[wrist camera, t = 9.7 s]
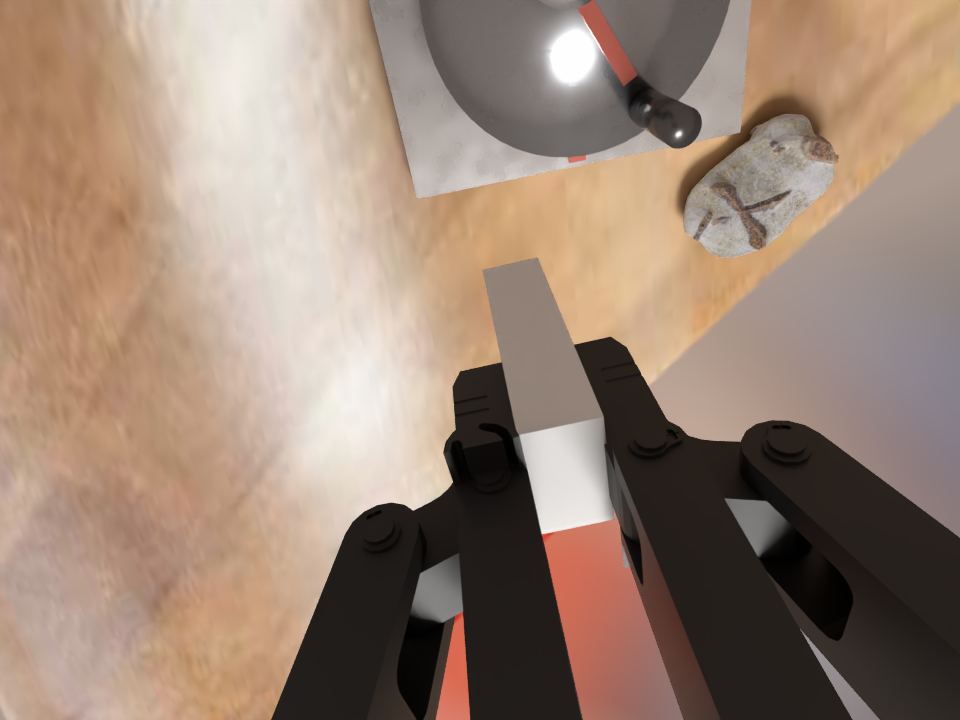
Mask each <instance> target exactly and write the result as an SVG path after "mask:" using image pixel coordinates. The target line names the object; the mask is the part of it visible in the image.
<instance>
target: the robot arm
mask: <svg viewBox="0 0 960 720" xmlns="http://www.w3.org/2000/svg"><path fill="white" fill-rule="evenodd" d="M483 274H484V279H485V284H486V289H487V293H488V298H489V303H490V308H491V312H492V317H493V322H494V327H495V332H496V336H497V341H498V346H499V351H500V356H501V360H502V362H501V363H496V364H492V365H487V366H483V367H478V368H474V369H469V370H465V371H460V373H459V375H458V377H457V379H456V381H455V383H454V385H453V399H454V412H455V425H456V430H455V431H454V432H453V433H452V434H451V436H450V437H449V438H448V440H447V441H446V443H445V447H444V452H443V453H444V456H445V459H446V462H447V465H448V468H449V471H450V474H451V477H452V480H453V483H452V485H451V486H450V487H449V489H448V490H447V491H445V492H444V493H443V494H442V495H441V496H440V497H438V498H437V499H435V500H433V501H432V502H430V503H428V504H426V505H424V506H422V507H420V508H418V509H416V510H414V511H413V510H411V509H410V508H408V507H407V506H405V505H403V504H396V503H387V504H382V505H377V506H375V507H373V508H371V509H369V510H367V511H365V512H363V513H362V514H361V515H360V516H359V517H358V518H357V519H356V520H354V521H353V522H352V524H351V526H350V527H349V529H348V531H347V532H346V534H345V536H344V539H343V541H342V544H341V546H340V549H339V551H338V554H337V556H336V559H335V561H334V564H333V566H332V569H331V571H330V574H329V576H328V579H327V581H326V584H325V586H324V589H323V591H322V594H321V596H320V599H319V601H318V604H317V606H316V609H315V611H314V614H313V616H312V619H311V621H310V624H309V626H308V629H307V631H306V634H305V636H304V639H303V641H302V644H301V646H300V649H299V651H298V654H297V656H296V659H295V661H294V664H293V666H292V669H291V671H290V674H289V676H288V679H287V681H286V684H285V686H284V689H283V691H282V694H281V696H280V699H279V701H278V704H277V706H276V709H275V712H274V714H273V717H272V719H271V720H436V714H437V710H438V704H439V699H440V694H441V688H442V683H443V678H444V673H445V667H446V662H447V657H448V651H449V646H450V641H451V635H452V630H453V625H454V619H455V615H457V614H459V613H461V612H463V618H464V633H465V647H466V662H467V676H468V692H469V706H470V720H583V719H582V714H581V709H580V705H579V701H578V696H577V691H576V687H575V683H574V678H573V673H572V669H571V664H570V659H569V656H568V650H567V646H566V641H565V637H564V632H563V628H562V623H561V619H560V614H559V609H558V606H557V600H556V596H555V591H554V587H553V582H552V578H551V573H550V569H549V564H548V559H547V555H546V551H545V546H544V542H543V537H542V534H545V533H550V532H555V531H560V530H565V529H570V528H574V527H579V526H584V525H589V524H594V523H599V522H604V521H609V520H613V519H614V511H613V507H614V510H615V513H616V516H617V518H618V521H619V524H620V530H621V541H622V551H623V561H624V567H631V571H632V574H633V576H634V579H635V582H636V585H637V588H638V591H639V594H640V596H641V599H642V602H643V605H644V607H645V611H646V614H647V616H648V619H649V622H650V625H651V628H652V631H653V633H654V636H655V639H656V642H657V645H658V648H659V650H660V653H661V656H662V659H663V662H664V665H665V668H666V670H667V673H668V676H669V679H670V682H671V685H672V687H673V690H674V693H675V696H676V699H677V702H678V705H679V707H680V710H681V713H682V716H683V719H684V720H852V718H851V716H850V715H849V713H848V711H847V709H846V708H845V706H844V704H843V703H842V701H841V699H840V697H839V696H838V694H837V692H836V690H835V689H834V687H833V685H832V683H831V682H830V680H829V678H828V677H827V675H826V673H825V671H824V670H823V668H822V666H821V664H820V663H819V661H818V659H817V658H816V656H815V654H814V652H813V651H812V649H811V647H810V645H809V644H808V642H807V640H806V639H805V637H804V635H803V633H802V632H801V630H802V631H803V632H804V634H805V635H806V636H807V637H808V638H809V639H810V640H811V641H812V643H813V644H814V645H815V646H816V647H817V648H818V650H819V651H820V652H821V653H822V654H823V655H824V656H825V658H826V659H827V660H828V661H829V662H830V663H831V664H832V665H833V667H834V668H835V669H836V670H837V671H838V672H839V674H841V676H842V677H843V678H844V679H845V680H846V681H847V683H848V684H849V685H850V686H851V687H852V688H853V689H854V691H855V692H856V693H857V694H858V695H859V696H860V697H861V698H862V700H863V701H864V702H865V703H866V704H867V705H868V707H869V708H870V709H871V710H872V711H873V712H874V713H875V714H876V716H877V717H878V718H879V719H880V720H960V538H959V537H958V536H957V535H955V534H954V533H953V532H951V531H950V530H949V529H947V528H946V527H944V526H943V525H942V524H941V523H939V522H938V521H937V520H935V519H934V518H933V517H931V516H930V515H928V514H927V513H926V512H925V511H923V510H922V509H921V508H919V507H917V505H915V504H914V503H913V502H911V501H910V500H909V499H907V498H906V497H905V496H903V495H902V494H900V493H899V492H898V491H896V490H895V489H894V488H892V487H891V486H890V485H888V484H887V483H886V482H884V481H883V480H882V479H880V478H879V477H878V476H876V475H875V474H874V473H872V472H871V471H869V470H868V469H867V468H865V467H864V466H863V465H862V464H860V463H859V462H858V461H856V460H855V459H854V458H852V457H851V456H850V455H848V454H847V453H845V452H844V451H843V450H841V449H840V448H839V447H838V446H836V445H835V444H833V443H832V442H831V441H829V440H828V439H827V438H825V437H824V436H823V435H821V434H820V433H818V432H816V431H815V430H813V429H811V428H809V427H807V426H806V425H802V424H798V423H794V422H790V421H774V420H772V421H767V422H763V423H759V424H756V425H754V426H753V427H751V428H750V429H748V430H747V431H746V432H745V434H744V436H743V438H742V440H741V442H729V441H710V440H701V439H698V438H694V437H690V436H688V435H687V434H686V433H685V432H684V431H683V430H682V429H681V428H680V427H679V426H677V425H675V424H673V423H671V422H669V421H668V420H667V419H666V417H665V415H664V414H663V412H662V410H661V408H660V407H659V405H658V403H657V401H656V399H655V397H654V396H653V394H652V392H651V390H650V388H649V387H648V385H647V383H646V381H645V379H644V378H643V376H641V372H640V371H639V369H638V367H637V365H636V364H635V362H634V360H633V358H632V356H631V354H630V353H629V351H628V349H627V347H625V346H624V345H622V344H621V343H619V342H618V341H616V340H615V339H613V338H612V337H607V338H603V339H598V340H594V341H589V342H585V343H580V344H576V345H574V344H573V342H572V339H571V337H570V334H569V332H568V330H567V327H566V325H565V322H564V320H563V318H562V315H561V313H560V310H559V308H558V306H557V303H556V301H555V298H554V296H553V294H552V291H551V289H550V286H549V284H548V282H547V279H546V277H545V274H544V272H543V270H542V267H541V265H540V262H539V260H538V258H533V259H529V260H524V261H520V262H516V263H511V264H507V265H502V266H498V267H494V268H489V269H485V270H483ZM800 629H801V630H800Z"/></svg>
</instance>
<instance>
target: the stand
mask: <svg viewBox="0 0 960 720" xmlns="http://www.w3.org/2000/svg"><path fill="white" fill-rule="evenodd" d="M369 4H370V8H371V12H372V16H373V20H374V24H375V28H376V33H377V37H378V41H379V45H380V49H381V53H382V57H383V61H384V65H385V69H386V73H387V77H388V81H389V85H390V89H391V94H392V98H393V102H394V106H395V110H396V114H397V118H398V122H399V126H400V130H401V134H402V138H403V142H404V146H405V150H406V155H407V159H408V163H409V167H410V171H411V175H412V179H413V183H414V187H415V191H416V195H417V199H419V198H424V197H429V196H434V195H439V194H444V193H448V192H453V191H458V190H463V189H468V188H473V187H478V186H483V185H487V184H492V183H497V182H502V181H507V180H512V179H517V178H522V177H526V176H531V175H536V174H541V173H546V172H551V171H556V170H561V169H565V168H570V167H575V166H580V165H585V164H590V163H595V162H600V161H605V160H609V159H614V158H619V157H624V156H629V155H634V154H639V153H644V152H648V151H653V150H658V149H663V148H668V147H670V146H668V145H667V144H665V143H664V142H662V141H661V140H659V139H658V138H656V137H655V136H653V135H652V134H650V133H649V132H647V131H646V130H644V131H643V132H642V133H640V134H639V135H637V136H635V137H633V138H631V139H630V140H628V141H626V142H624V143H622V144H620V145H617V146H615V147H612V148H610V149H607V150H605V151H601V152H597V153H593V154H589V155H584V156H576V157H548V156H541V155H535V154H531V153H528V152H525V151H521V150H518V149H515V148H513V147H511V146H509V145H507V144H505V143H503V142H501V141H499V140H497V139H496V138H494V137H493V136H491V135H490V134H488V133H487V132H485V131H484V130H483V129H482V128H481V127H479V126H478V125H477V124H476V123H475V122H474V121H472V120H471V119H470V118H469V117H468V115H467V114H466V113H465V112H464V111H463V110H462V109H461V108H460V106H459V105H458V104H457V103H456V101H455V100H454V98H453V97H452V95H451V94H450V92H449V91H448V89H447V88H446V86H445V84H444V82H443V81H442V79H441V77H440V75H439V73H438V71H437V69H436V67H435V64H434V61H433V59H432V56H431V53H430V51H429V48H428V45H427V41H426V36H425V32H424V28H423V24H422V18H421V10H420V2H419V0H369ZM750 11H751V0H730V4H729V8H728V12H727V15H726V17H725V20H724V23H723V26H722V29H721V32H720V35H719V37H718V39H717V41H716V43H715V45H714V48H713V50H712V52H711V54H710V56H709V58H708V60H707V61H706V63H705V65H704V66H703V68H702V70H701V71H700V73H699V75H698V76H697V78H696V79H695V80H694V82H693V83H692V84H691V86H690V87H689V88H688V90H687V91H686V93H685V94H684V95H683V96H682V97H681V98H680V99H679V100H678V101H680V102H682V103H684V104H686V105H689V106H691V107H693V108H695V109H696V110H697V111H698V112H699V113H700V115H701V119H702V127H701V131H700V133H699V135H698V137H697V138H696V139H695V140H694V142H697V141H702V140H707V139H712V138H717V137H722V136H726V135H731V134H736V133H740V129H741V117H742V105H743V93H744V82H745V70H746V58H747V46H748V34H749V23H750Z"/></svg>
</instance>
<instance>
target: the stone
mask: <svg viewBox="0 0 960 720" xmlns="http://www.w3.org/2000/svg"><path fill="white" fill-rule="evenodd" d="M750 134H751V136H752V137H751V138H750V140H749V141H747V142H746V143H744V144H743V145H741V146H740V147H738V148H737V149H736V150H735V151H733V152H732V153H731V154H730V155H729V156H728V157H726V158H725V159H724V160H723V161H721V162H720V163H719V164H718V165H716V166H715V167H714V168H713V169H711V170H710V171H709V172H708V173H707V174H706V175H705V176H704V177H703V178H702V179H701V180H700V181H699V182H698V183H697V184H696V185H695V186H694V188H693V189H692V191H691V192H690V194H689V196H688V197H687V201H686V205H685V211H684V217H683V224H684V230H685V233H686V234H687V235H689V236H692V237H693V238H694V239H695V240H697V241H699V242H700V243H701V244H702V245H703V246H704V247H705V248H706V249H707V250H708V251H709V252H710V253H712V254H714V255H715V256H716V257H720V258H734V257H738V256H742V255H745V254H748V253H750V252H754V251H757V250H761V249H763V248H764V247H765V246H766V245H767V244H769V243H770V242H771V241H773V240H774V239H775V238H777V237H778V236H779V235H781V233H782V232H783V231H784V229H785V228H786V227H787V226H788V225H789V223H790V222H791V221H792V220H793V219H794V218H795V217H796V216H797V215H798V214H799V213H801V212H802V211H804V210H805V209H806V208H807V207H809V205H810V204H811V203H812V202H813V201H815V200H816V199H817V198H818V197H820V196H821V195H822V194H824V193H825V192H826V190H827V189H828V187H829V185H830V184H831V182H832V180H833V178H834V170H833V165H834V164H836V163H837V162H838V158H839V156H838V155H836V154H835V152H834V150H833V148H832V145H831V144H830V143H829V142H828V141H827V140H826V139H824V138H823V137H821V136H819V135H816V134H814V132H813V130H812V127H811V122H810V121H809V120H808V118H807V117H805V116H804V115H800V114H783V115H780V116H776V117H774V118H772V119H770V120H768V121H766V122H765V123H763V124H761V125H757V126H755V127H754V128H753V129H752V130H751V131H750Z"/></svg>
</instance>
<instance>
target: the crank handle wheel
mask: <svg viewBox="0 0 960 720" xmlns="http://www.w3.org/2000/svg"><path fill="white" fill-rule="evenodd" d="M419 2H420V10H421V18H422V24H423V28H424V32H425V36H426V41H427V45H428V48H429V51H430V53H431V56H432V59H433V61H434V64H435V67H436V69H437V71H438V73H439V75H440V77H441V79H442V81H443V82H444V84H445V86H446V88H447V89H448V91H449V92H450V94H451V95H452V97H453V98H454V100H455V101H456V103H457V104H458V105H459V106H460V108H461V109H462V110H463V111H464V112H465V113H466V114H467V115H468V117H469V118H470V119H471V120H472V121H474V122H475V123H476V124H477V125H478V126H479V127H481V128H482V129H483V130H484V131H485V132H487V133H488V134H490V135H491V136H493V137H494V138H496V139H497V140H499V141H501V142H503V143H505V144H507V145H509V146H511V147H513V148H515V149H518V150H521V151H525V152H528V153H531V154H535V155H541V156H548V157H576V156H584V155H589V154H593V153H597V152H601V151H605V150H607V149H610V148H612V147H615V146H617V145H620V144H622V143H624V142H626V141H628V140H630V139H631V138H633V137H635V136H637V135H639V134H640V133H642V132H643V131H644V130H646V131H647V132H649V133H650V134H652V135H653V136H655V137H656V138H658V139H659V140H661V141H662V142H664V143H665V144H667V145H668V146H670V147H672V148H684V147H686V146H688V145H690V144H691V143H692V142H694V140H695V139H696V138H697V137H698V135H699V133H700V131H701V127H702V119H701V115H700V113H699V112H698V111H697V110H696V109H695V108H693V107H691V106H689V105H686V104H684V103H682V102H680V101H678V100H679V99H680V98H681V97H682V96H683V95H684V94H685V93H686V91H687V90H688V88H689V87H690V86H691V84H692V83H693V82H694V80H695V79H696V78H697V76H698V75H699V73H700V71H701V70H702V68H703V66H704V65H705V63H706V61H707V60H708V58H709V56H710V54H711V52H712V50H713V48H714V45H715V43H716V41H717V39H718V37H719V35H720V32H721V29H722V26H723V23H724V20H725V17H726V15H727V12H728V8H729V4H730V0H419Z"/></svg>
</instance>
